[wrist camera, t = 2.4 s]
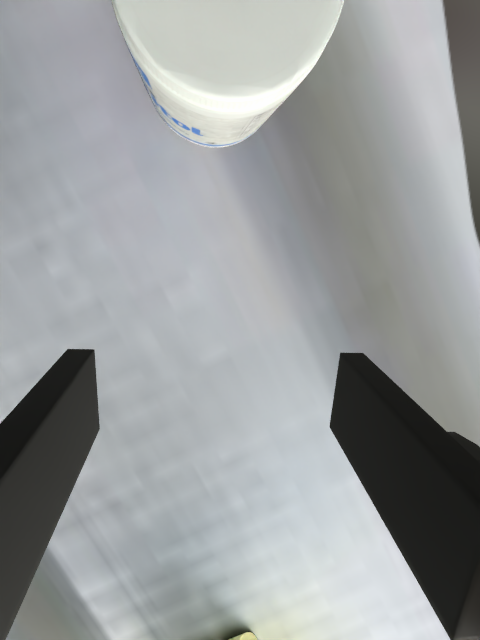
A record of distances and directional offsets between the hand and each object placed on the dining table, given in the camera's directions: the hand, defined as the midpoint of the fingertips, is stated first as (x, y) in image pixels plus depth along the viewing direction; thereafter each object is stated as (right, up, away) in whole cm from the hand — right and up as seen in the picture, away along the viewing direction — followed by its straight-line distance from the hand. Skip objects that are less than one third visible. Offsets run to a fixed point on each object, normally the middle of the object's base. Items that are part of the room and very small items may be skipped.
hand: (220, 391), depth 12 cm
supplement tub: (-1, +20, +16) cm, 26 cm away
